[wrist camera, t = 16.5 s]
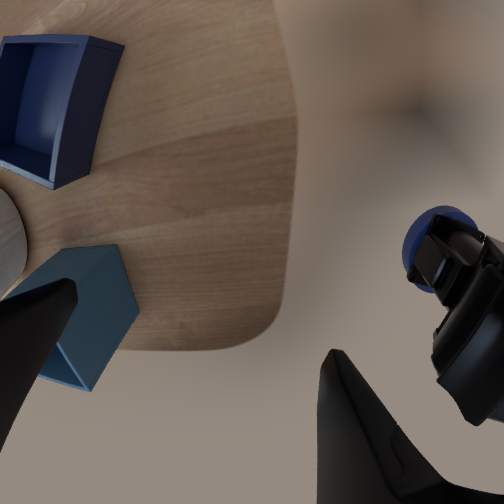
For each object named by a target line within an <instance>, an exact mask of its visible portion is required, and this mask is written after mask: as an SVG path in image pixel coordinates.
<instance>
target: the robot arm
mask: <svg viewBox="0 0 504 504" xmlns="http://www.w3.org/2000/svg"><path fill="white" fill-rule="evenodd" d="M438 217H439V220H438V221H436V219H437V218H438ZM480 236H481V237H480ZM479 237H480V238H479ZM484 239H485V240H484ZM483 241H484V245H482V243H483ZM412 275H414V276H413V277H412V278H411V276H412ZM407 279H408V280H409V282H412V283H415V284H419V285H423V286H427V287H430V288H432V290H433V291H434V293H435V294H436V296H437V297H438V299H439V300H440V302H441V304H442V305H443V306H445V308H446V309H447V311H448V313H447V315H446V316H445V318H444V320H443V321H442V323H441V325H440V326H439V327H438V328H436V330H435V332H434V333H433V339H434V342H433V354H432V355H431V360H432V363H433V365H434V368H435V369H436V371H437V374H438V376H439V377H438V378H437V380H436V381H437V383H438V384H440V385H441V386H442V387H443V388H444V389H445V390H447V391H448V393H449V394H450V395H451V396H452V397H453V399H454V400H455V402H456V403H457V405H458V407H459V409H460V411H461V413H462V414H463V416H464V419H465V420H466V421H468V422H469V423H471V424H473V425H474V426H479V425H480V424H482V423H483V422H484V421H485V420H486V419H487V418H488V419H492V420H495V421H499V422H502V423H504V243H503V242H500V241H498V240H496V239H494V238H492V237H490V236H488V235H487V236H486V237H485V234H484V233H483V232H481V231H480V230H477V229H475V228H473V227H471V226H468V225H466V224H464V223H462V222H459V221H457V220H455V219H452V218H450V217H447V216H445V215H443V214H440V213H435V214H434V215H433V216H432V219H431V221H430V224H429V226H428V229H427V231H426V233H425V235H424V236H423V238H422V241H421V243H420V245H419V248H418V250H417V252H416V254H415V256H414V259H413V263H412V265H411V267H410V269H409V271H408V273H407ZM77 304H78V294H77V288H76V283H75V281H74V280H72V279H69V278H66V277H65V278H62V279H59V280H56V281H53V282H50V283H48V284H45V285H42V286H39V287H37V288H34V289H31V290H28V291H26V292H23V293H20V294H18V295H15V296H12V297H10V298H7V299H4V300H2V301H0V452H1V450H2V447H3V445H4V443H5V440H6V438H7V436H8V434H9V431H10V429H11V427H12V425H13V422H14V420H15V418H16V416H17V414H18V412H19V410H20V408H21V406H22V404H23V402H24V400H25V398H26V396H27V394H28V393H29V391H30V389H31V387H32V385H33V383H34V381H35V379H36V377H37V376H38V374H39V372H40V371H41V369H42V367H43V365H44V364H45V362H46V360H47V359H48V357H49V355H50V354H51V352H52V350H53V349H54V347H55V345H56V344H57V342H58V340H59V339H60V337H61V335H62V333H63V331H64V329H65V327H66V325H67V323H68V321H69V319H70V317H71V316H72V314H73V312H74V310H75V308H76V306H77ZM317 450H318V451H317V459H318V460H317V466H318V467H317V504H504V495H500V494H492V493H488V492H483V491H478V490H474V489H470V488H465V487H462V486H458V485H455V484H452V483H450V482H448V481H447V480H445V479H444V478H443V477H442V476H441V475H440V474H439V473H438V472H437V471H436V470H435V469H434V468H433V467H432V465H431V464H430V463H429V462H428V461H427V460H426V459H425V458H424V457H423V455H421V453H420V452H419V451H418V450H417V448H416V447H415V446H414V445H413V444H412V442H411V441H410V440H409V439H408V437H407V436H406V435H405V433H404V432H403V431H402V429H401V428H400V427H399V425H397V423H396V421H395V420H394V419H393V417H392V416H391V414H390V413H389V412H388V411H387V409H386V408H385V406H384V405H383V403H382V402H381V401H380V399H379V398H378V397H377V395H376V394H375V393H374V391H373V390H372V388H371V387H370V386H369V384H368V383H367V382H366V380H365V379H364V378H363V377H362V375H361V374H360V372H359V371H358V370H357V368H356V367H355V366H354V364H353V363H352V361H351V360H350V359H349V357H348V356H347V355H346V353H345V352H344V351H342V350H338V349H331V350H330V351H329V353H328V355H327V356H326V358H325V360H324V362H323V364H322V366H321V369H320V381H319V392H318V403H317Z"/></svg>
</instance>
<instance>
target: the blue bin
mask: <svg viewBox="0 0 504 504" xmlns="http://www.w3.org/2000/svg"><path fill="white" fill-rule="evenodd" d="M65 277H66V278H69V279H72V280H74V281H75V283H76V288H77V294H78V304H77V306H76V308H75V310H74V312H73V314H72V316H71V317H70V319H69V321H68V323H67V325H66V327H65V329H64V331H63V333H62V335H61V337H60V339H59V340H58V342H57V344H56V345H55V347H54V349H53V350H52V352H51V354H50V355H49V357H48V359H47V360H46V362H45V364H44V365H43V367H42V369H41V371H40V372H39V374H38V376H39V377H42V378H45V379H48V380H51V381H54V382H57V383H60V384H63V385H67V386H70V387H73V388H77V389H80V390H84V391H87V392H91V391H92V389H93V388H94V386H95V384H96V382H97V381H98V379H99V377H100V376H101V374H102V372H103V371H104V369H105V367H106V365H107V364H108V362H109V361H110V359H111V357H112V356H113V354H114V352H115V351H116V349H117V347H118V346H119V344H120V342H121V341H122V339H123V338H124V336H125V334H126V333H127V331H128V330H129V328H130V327H131V325H132V323H133V322H134V320H135V319H136V317H137V316H138V314H139V312H140V311H139V309H138V306H137V303H136V301H135V298H134V295H133V292H132V290H131V287H130V284H129V281H128V278H127V275H126V272H125V269H124V266H123V263H122V260H121V257H120V253H119V250H118V247H117V244H116V245H103V246H92V247H80V248H69V249H61V250H60V251H59V252H57V253H56V254H55V255H54V256H52V257H51V258H50V259H49V260H47V261H46V262H45V263H44V264H42V265H41V266H40V267H39V268H38V269H36V270H35V271H34V272H33V273H32V274H30V275H29V276H28V277H27V278H26V279H25V280H24V281H22V282H21V283H20V284H19V285H18V286H17V287H16V288H15V289H13V290H12V291H11V292H10V293H9V294H8V295H7V296H6V297H5V298H4V299H7V298H10V297H12V296H15V295H18V294H20V293H23V292H26V291H28V290H31V289H34V288H37V287H39V286H42V285H45V284H48V283H50V282H53V281H56V280H59V279H62V278H65ZM4 299H3V300H4ZM1 301H2V300H1Z"/></svg>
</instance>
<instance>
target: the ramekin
mask: <svg viewBox="0 0 504 504" xmlns="http://www.w3.org/2000/svg"><path fill="white" fill-rule="evenodd" d="M26 259H27V239H26V234H25V230H24V226H23V223H22V220H21V217H20V214H19V212H18V210H17V208H16V206H15V205H14V203H13V201H12V200H11V198H10V197H9V196H8V195H7V194H6V192H4V191H3V190H2V189H0V301H1V298H2V296H3V295H4V294H5V293H6V292H7V291H8V290H9V288H10V287H11V286H12V285H13V284H14V283H15V282H16V281H17V279H18V278H19V277H20V276H21V274H22V272H23V270H24V268H25V265H26Z"/></svg>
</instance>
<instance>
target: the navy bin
mask: <svg viewBox="0 0 504 504" xmlns="http://www.w3.org/2000/svg"><path fill="white" fill-rule="evenodd" d="M123 49H124V45H120V44H117V43H114V42H111V41H107V40H103V39H100V38H96V37H92V36H84V35H60V34H41V35H18V36H6V37H3V40H2V44H1V46H0V166H2V167H4V168H6V169H8V170H10V171H12V172H14V173H16V174H19V175H21V176H23V177H25V178H27V179H29V180H32V181H34V182H36V183H38V184H40V185H42V186H45V187H47V188H49V189H51V190H56V189H58V188H60V187H62V186H64V185H66V184H69V183H71V182H73V181H75V180H78V179H80V178H82V177H84V176H87V175H89V172H90V166H91V161H92V156H93V151H94V146H95V142H96V137H97V133H98V129H99V125H100V121H101V117H102V113H103V110H104V106H105V103H106V99H107V96H108V92H109V89H110V86H111V83H112V80H113V77H114V74H115V71H116V68H117V65H118V62H119V60H120V57H121V54H122V52H123Z"/></svg>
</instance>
